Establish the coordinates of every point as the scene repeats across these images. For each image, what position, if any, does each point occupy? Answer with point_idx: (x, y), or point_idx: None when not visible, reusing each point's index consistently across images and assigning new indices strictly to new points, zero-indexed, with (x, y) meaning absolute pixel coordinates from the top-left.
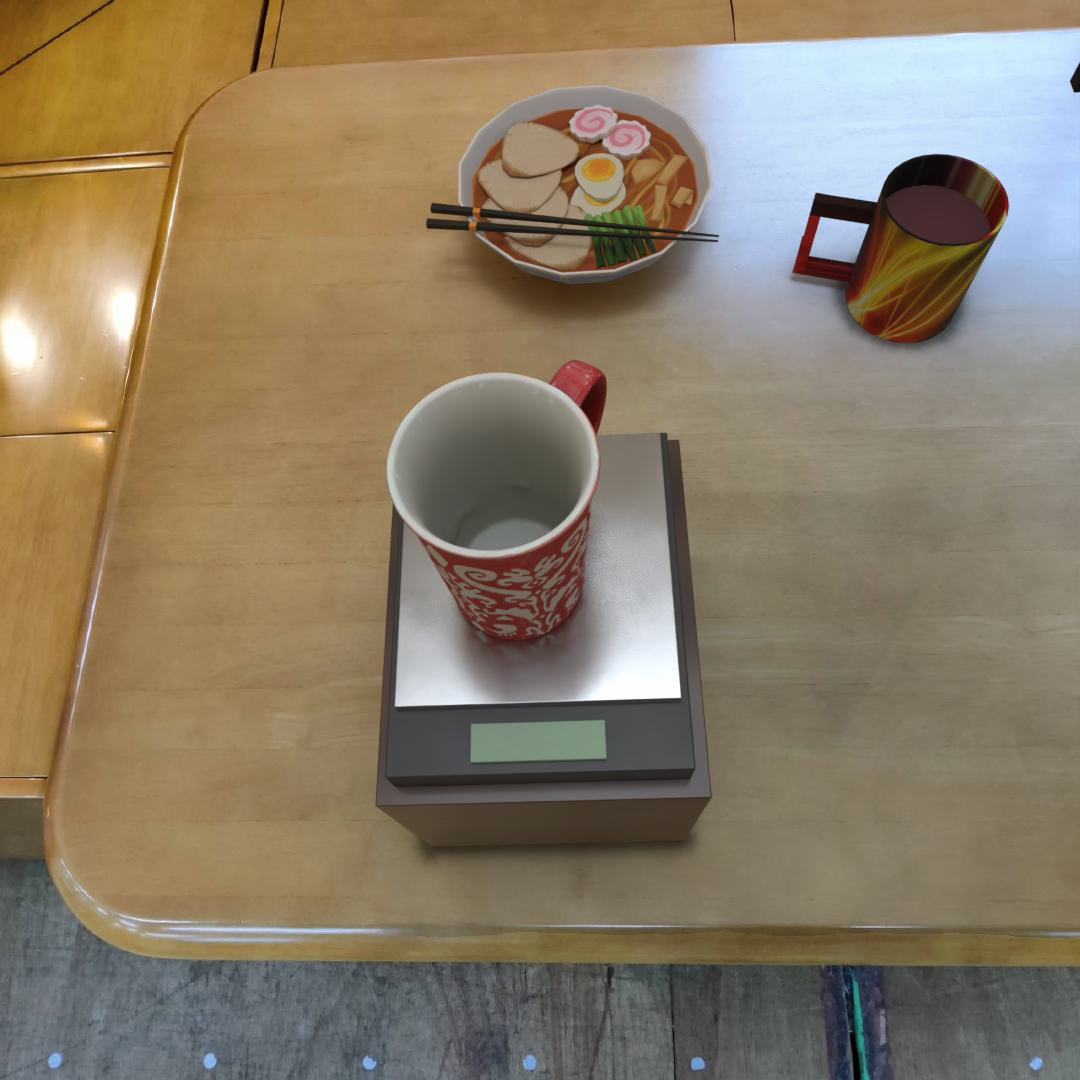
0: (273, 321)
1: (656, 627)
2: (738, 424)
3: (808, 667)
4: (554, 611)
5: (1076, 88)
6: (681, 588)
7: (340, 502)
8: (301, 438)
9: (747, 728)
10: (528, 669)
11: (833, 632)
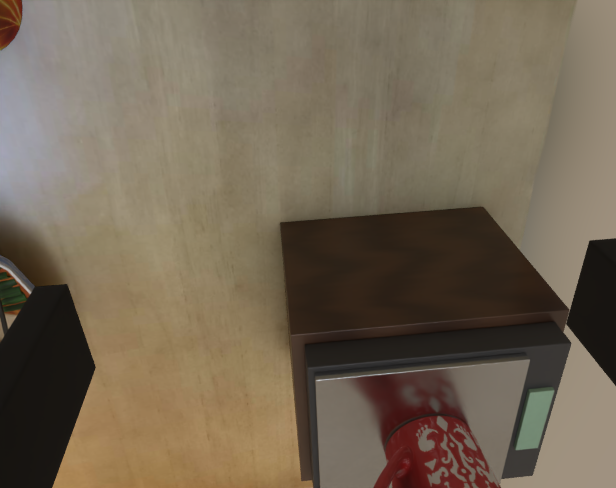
0: (112, 456)
1: (477, 375)
2: (152, 165)
3: (373, 120)
4: (483, 456)
5: (93, 373)
6: (420, 330)
7: (248, 403)
8: (203, 428)
9: (415, 166)
10: (491, 433)
11: (345, 99)
